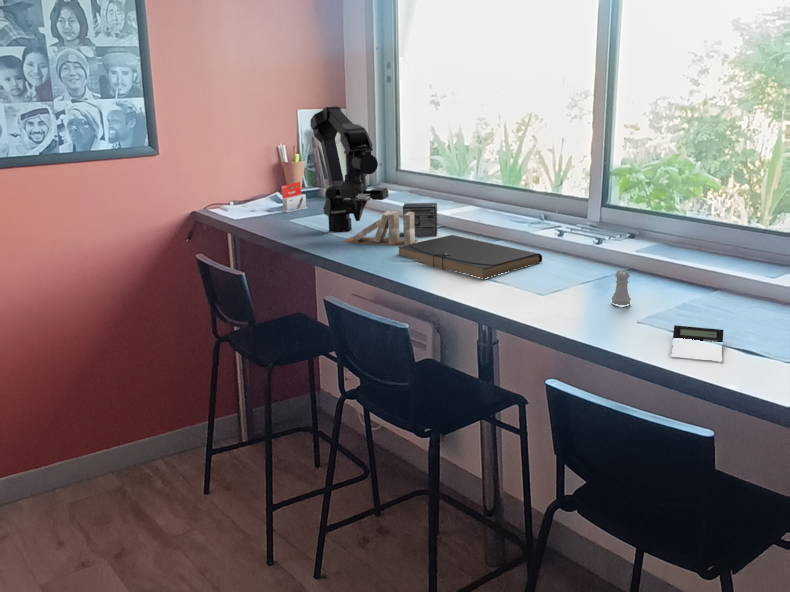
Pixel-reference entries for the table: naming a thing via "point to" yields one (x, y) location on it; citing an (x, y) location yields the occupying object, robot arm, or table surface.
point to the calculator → (698, 333)
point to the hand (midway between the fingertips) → (357, 220)
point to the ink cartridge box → (293, 197)
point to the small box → (423, 218)
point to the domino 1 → (367, 230)
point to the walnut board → (371, 241)
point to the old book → (469, 256)
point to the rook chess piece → (621, 289)
